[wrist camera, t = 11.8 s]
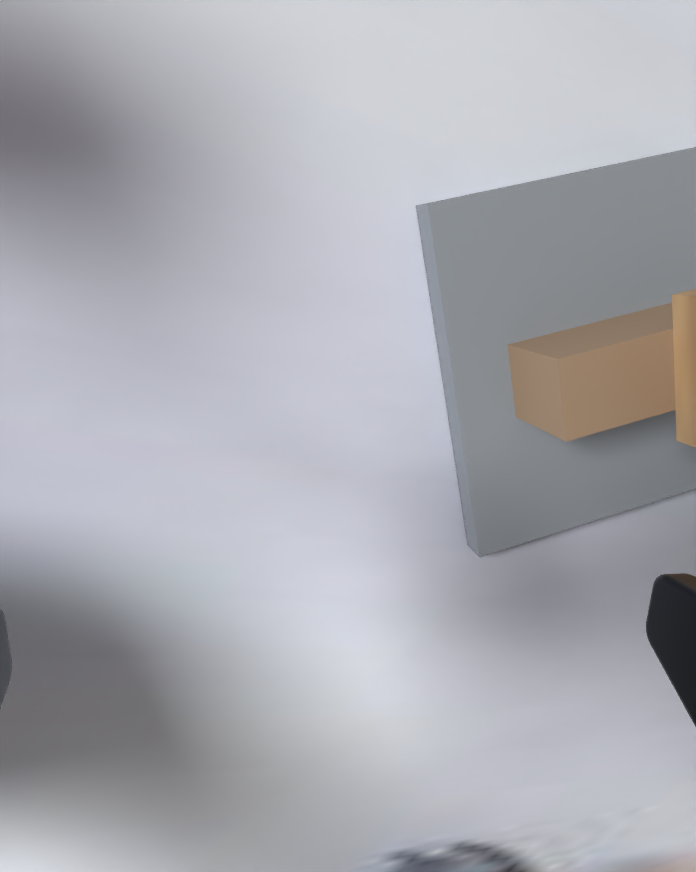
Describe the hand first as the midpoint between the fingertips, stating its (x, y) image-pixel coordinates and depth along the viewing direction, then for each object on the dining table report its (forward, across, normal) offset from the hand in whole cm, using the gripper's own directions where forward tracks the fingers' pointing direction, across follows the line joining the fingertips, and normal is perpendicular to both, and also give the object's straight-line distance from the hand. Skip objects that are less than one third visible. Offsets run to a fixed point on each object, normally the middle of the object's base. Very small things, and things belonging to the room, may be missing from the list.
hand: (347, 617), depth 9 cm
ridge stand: (+14, -13, -2) cm, 19 cm away
